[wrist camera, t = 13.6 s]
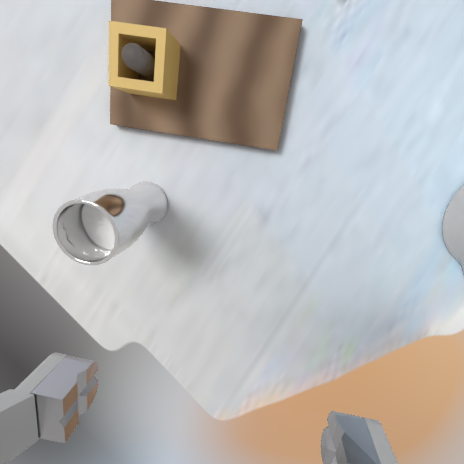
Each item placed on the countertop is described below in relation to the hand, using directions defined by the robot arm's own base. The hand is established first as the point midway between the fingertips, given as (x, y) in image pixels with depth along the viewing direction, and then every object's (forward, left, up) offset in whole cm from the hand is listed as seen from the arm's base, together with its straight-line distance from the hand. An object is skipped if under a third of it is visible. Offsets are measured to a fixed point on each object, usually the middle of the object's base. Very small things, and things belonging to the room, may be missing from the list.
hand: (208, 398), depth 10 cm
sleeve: (+14, -15, -30) cm, 36 cm away
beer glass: (+15, +2, -31) cm, 35 cm away
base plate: (+9, -15, -31) cm, 36 cm away
